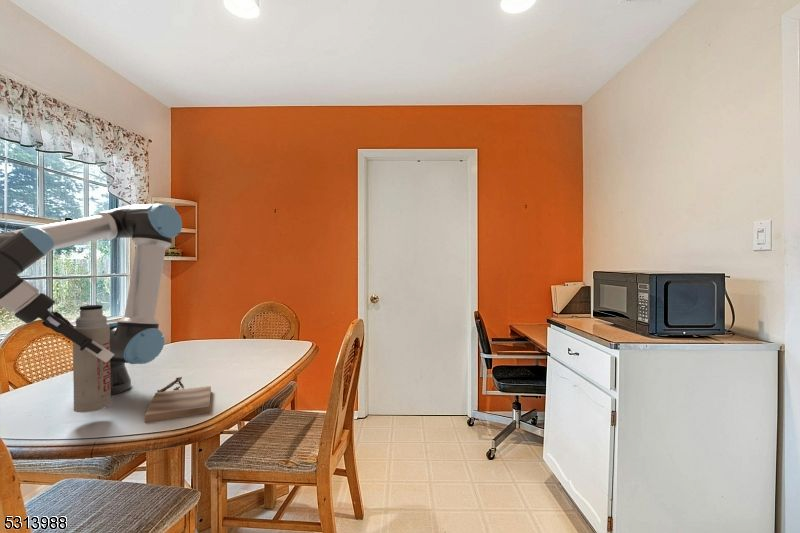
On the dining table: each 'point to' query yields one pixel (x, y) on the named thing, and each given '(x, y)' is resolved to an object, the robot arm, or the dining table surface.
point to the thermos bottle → (91, 362)
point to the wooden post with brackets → (172, 385)
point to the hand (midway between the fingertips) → (107, 355)
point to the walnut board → (179, 403)
